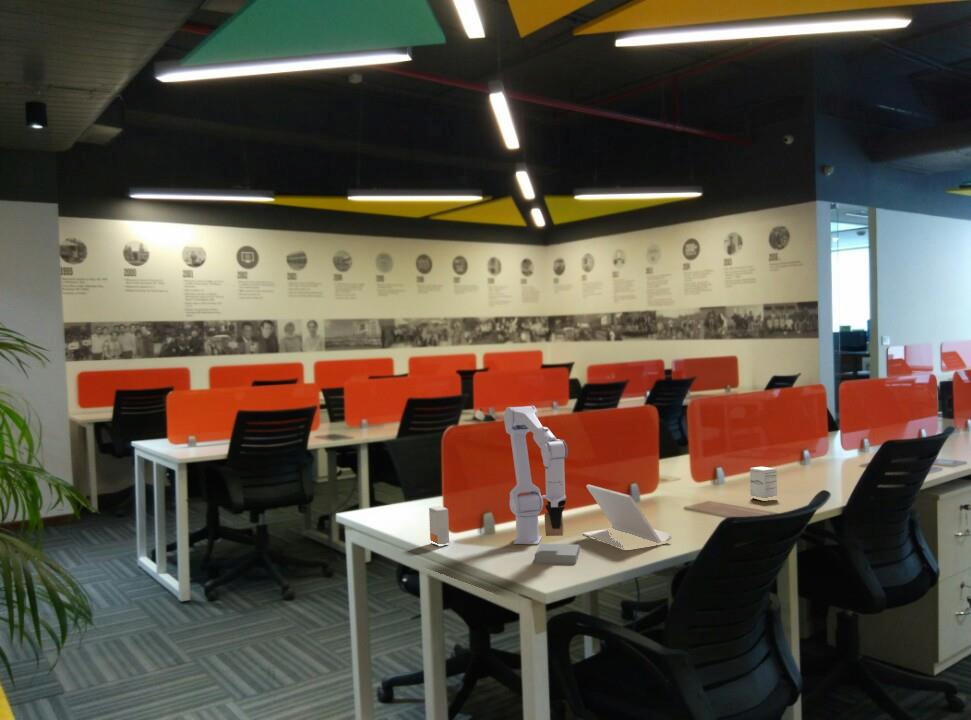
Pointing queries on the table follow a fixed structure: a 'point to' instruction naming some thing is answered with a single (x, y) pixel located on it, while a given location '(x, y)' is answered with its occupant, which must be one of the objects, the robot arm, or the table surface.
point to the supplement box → (763, 482)
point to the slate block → (557, 553)
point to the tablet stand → (623, 517)
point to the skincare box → (439, 525)
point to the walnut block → (550, 530)
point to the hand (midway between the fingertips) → (556, 526)
